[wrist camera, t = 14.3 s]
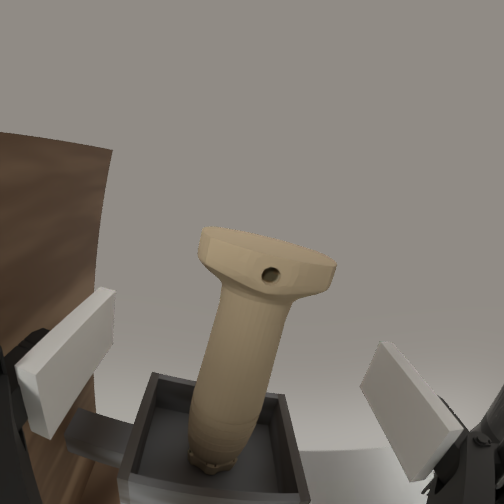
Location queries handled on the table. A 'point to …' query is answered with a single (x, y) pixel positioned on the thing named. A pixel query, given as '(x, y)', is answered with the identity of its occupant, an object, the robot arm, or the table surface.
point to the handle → (245, 335)
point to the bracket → (83, 409)
